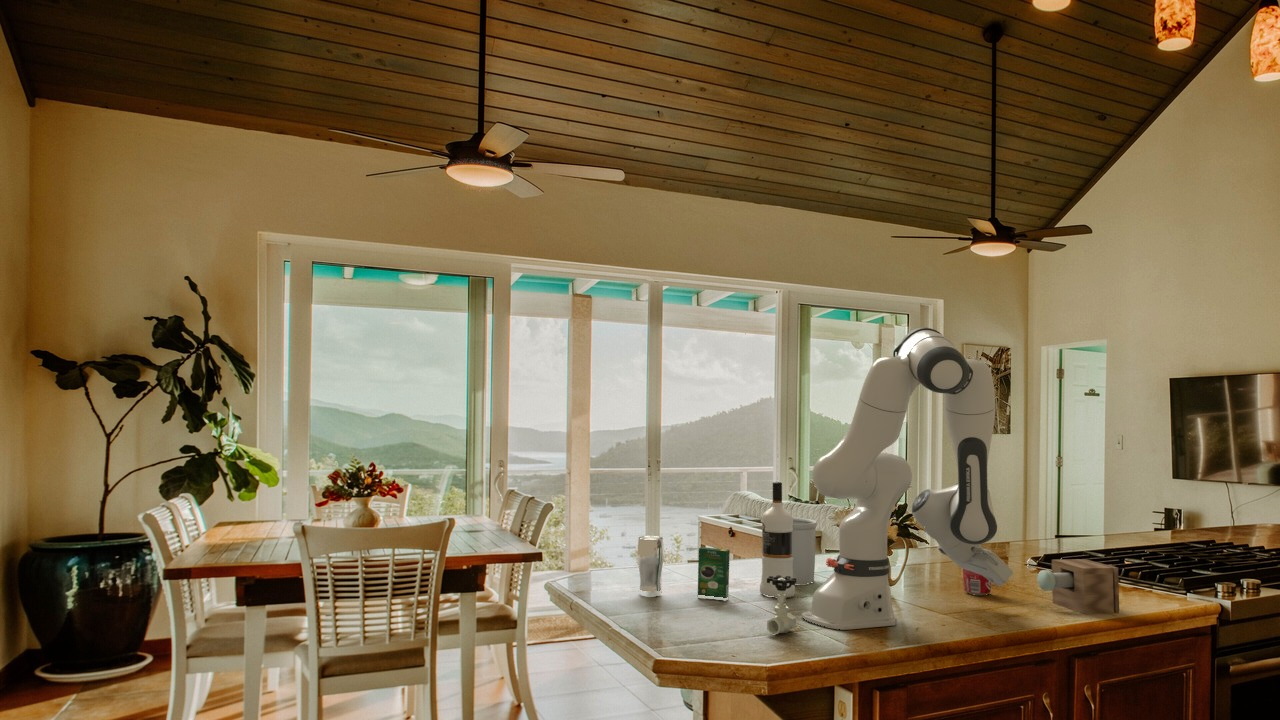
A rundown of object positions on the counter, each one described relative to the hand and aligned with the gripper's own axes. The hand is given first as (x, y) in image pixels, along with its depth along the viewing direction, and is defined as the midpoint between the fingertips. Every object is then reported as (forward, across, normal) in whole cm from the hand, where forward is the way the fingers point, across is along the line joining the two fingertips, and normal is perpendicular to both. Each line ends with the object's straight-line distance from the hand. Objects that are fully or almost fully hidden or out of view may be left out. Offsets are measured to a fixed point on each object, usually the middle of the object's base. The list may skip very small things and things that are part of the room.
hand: (999, 584), depth 201 cm
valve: (-39, -15, +48) cm, 64 cm away
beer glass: (-55, +25, +64) cm, 88 cm away
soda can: (+8, +18, +1) cm, 20 cm away
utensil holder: (-24, +40, +33) cm, 57 cm away
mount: (+21, 0, -12) cm, 24 cm away
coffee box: (-44, +19, +53) cm, 71 cm away
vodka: (-31, +22, +40) cm, 55 cm away
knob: (+13, 0, -11) cm, 17 cm away
